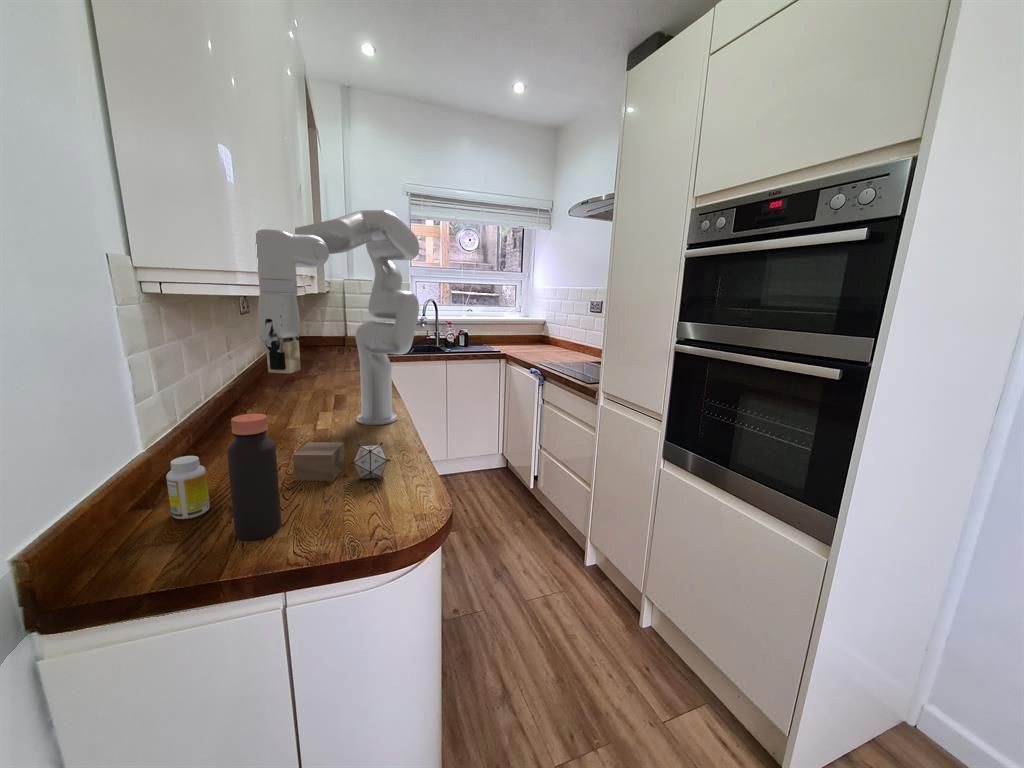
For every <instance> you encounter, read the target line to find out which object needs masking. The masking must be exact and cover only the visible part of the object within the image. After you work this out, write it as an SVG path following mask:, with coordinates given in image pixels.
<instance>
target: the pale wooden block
mask: <svg viewBox="0 0 1024 768" xmlns="http://www.w3.org/2000/svg"><path fill="white" fill-rule="evenodd" d="M273 342H275V341H273ZM276 344H277V345H278V342H276ZM265 351H266V363H267V373H272V374H293V373H295V372H297V371H301V370H302V369H301V353H300V351H301V350H300V341H299V339H298V340H288V339H287V340H283V350H282V352H284V353H285V366H286V369H285V370H272V369H270V358H269V352H268V351H267V347H266V346H265Z"/></svg>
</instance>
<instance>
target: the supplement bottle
mask: <svg viewBox="0 0 1024 768" xmlns="http://www.w3.org/2000/svg"><path fill="white" fill-rule="evenodd" d="M165 477H166V485H167V491H168V493H167V494H168V498H169V506H170V512H171V513H170V514H171V516H172V517H173V518H174V519H178V520H186V519H187V520H188V519H193V518H196V517H197V518H198V517H199V516H201V515H204V514H205V513H206V512H207V511H209V509H210V506H211V504H210V496H209V495H210V493H209V487H208V486H209V485H208V479H207V471H206V467H205V466H203V465H201V463H200V458H199V456H197V455H186V456H185V455H184V456H179V457H176V458H174V459H172V460H171V461H170V470H169V471H168V472H167V474H166V476H165Z"/></svg>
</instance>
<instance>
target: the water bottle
mask: <svg viewBox="0 0 1024 768" xmlns="http://www.w3.org/2000/svg"><path fill="white" fill-rule="evenodd" d="M230 423H231V432H232V437H234V439H235V440H234V441H233V443H231V444H230V446H229V447H227V450H226V453H227V463H228V464H227V465H228V474H229V475H228V476H229V486H230V496H231V505H232V516H233V527H234V535H235V537H236V538H237V539H238V540H241V541H248V542H249V541H257V540H258V541H259V540H261V539H264V538H268V537H270V536H272V535H274V534H275V533H277V532H278V531H279V530H280V528H281V526H282V517H281V516H282V515H281V500H280V499H281V498H280V488H279V475H278V474H279V473H278V461H277V460H278V459H277V447H276V443H275V441H273V440H271V439H270V438H269V437H268V436H267V433H268V431H269V430H268V425H269V424H268V415H266V414H264V413H244V414H240V415H236V416H234V417H232V418H231V419H230Z"/></svg>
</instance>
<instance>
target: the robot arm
mask: <svg viewBox="0 0 1024 768" xmlns="http://www.w3.org/2000/svg"><path fill="white" fill-rule="evenodd" d="M294 228H295V234H290V233H288V232H285V231H286V230H279V229H271V228H270V229H269V228H267V229H259V230H257V231H256V232H257V233H256V232H255V234H256V243H255V245H256V244H257V255H256V259H257V258H258V267H257V275H258V276H257V277H258V288H259V289H258V290H259V295H258V303H257V305H258V306H257V326H258V336H259V338H260V339H261V341H262V343H263V344H264V345H265V348H266V347H267V351H268V352H269V358H270V369H272V370H285V369H286V366H285V353H284V352H282V350H283V340H299V338H300V335H301V320H300V319H301V318H300V311H299V310H300V309H299V304H298V303H299V302H298V299H297V296H298V281H297V279H298V278H297V268H319V267H321V266H323V265H324V264H326V263H327V261H328V259H329V257H330V255H336V254H341V253H347V252H350V251H352V250H354V249H356V248H358V247H360V246H363V245H365V246H366V251H367V253H368V255H369V258H370V260H371V263H372V265H373V268H374V280H373V284H372V288H371V292H370V297H369V301H368V306H367V307H368V313H369V315H370V316H371V317H372V318H373V319H377V320H380V321H367V322H363V323H361V324H360V325H359V326H358V327H357V328H356V331H355V343H356V346H357V350H358V356H359V371H360V372H359V374H360V376H359V377H360V379H359V380H360V404H361V405H360V407H361V409H360V411H361V413H360V414H358V415H357V416H356V418H355V419H356V422H357V423H359V424H361V425H366V426H367V425H368V426H381V425H387V424H391V423H394V422H396V421H397V420H398V415H397V414H396V413H395V412H393V399H392V398H393V384H392V383H393V382H392V381H393V380H392V379H393V378H392V374H393V373H392V372H393V371H392V369H393V368H392V363H391V360H390V359H389V357H388V355H401V356H402V355H404V354H405V355H406V354H407V353H409V352H410V350H411V347H412V345H413V341H414V338H415V334H416V328H417V323H418V320H419V315H420V314H419V313H420V303H419V299H418V297H417V295H416V294H415V293H414V292H412V291H409V290H402V284H403V276H402V272H401V271H400V269H399V268H398V266H397V265H396V263H395V261H411V260H414V259H416V258H417V257H418V255H419V253H420V243H419V239H418V238H417V235H416V234H415V233H414V232H413V231H412V230H411V229H410V228H409V226H408V225H407V224H406V223H405V222H403V220H402V219H400V217H398V216H397V215H396V214H395V213H394V212H392V211H390V210H387V209H363V210H358V211H354V212H350V213H349V214H344V215H342V216H339V217H336V218H333V219H328V220H323V221H320V222H317V223H316V222H315V223H312V224H307V225H302V226H297V227H294ZM381 320H383V321H384V322H382V321H381ZM386 321H394V322H395V323H394V322H386ZM273 341H275V342H273ZM276 342H278V345H277V344H276Z"/></svg>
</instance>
